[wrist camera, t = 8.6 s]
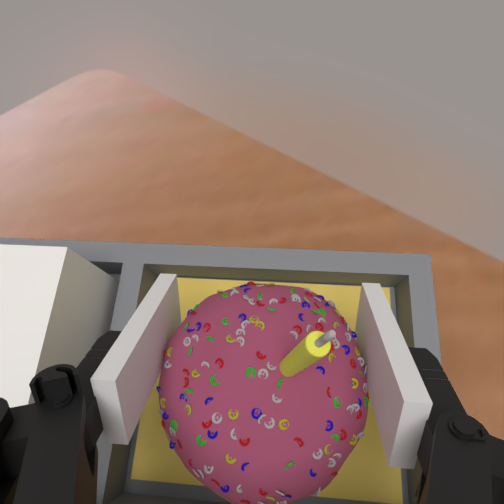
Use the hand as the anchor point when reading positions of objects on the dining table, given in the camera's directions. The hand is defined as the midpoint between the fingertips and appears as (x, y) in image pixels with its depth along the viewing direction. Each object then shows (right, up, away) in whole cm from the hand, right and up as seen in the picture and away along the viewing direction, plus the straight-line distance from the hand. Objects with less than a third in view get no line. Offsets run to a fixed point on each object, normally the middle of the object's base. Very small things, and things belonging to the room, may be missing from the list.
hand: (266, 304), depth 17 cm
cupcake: (0, -5, +3) cm, 5 cm away
